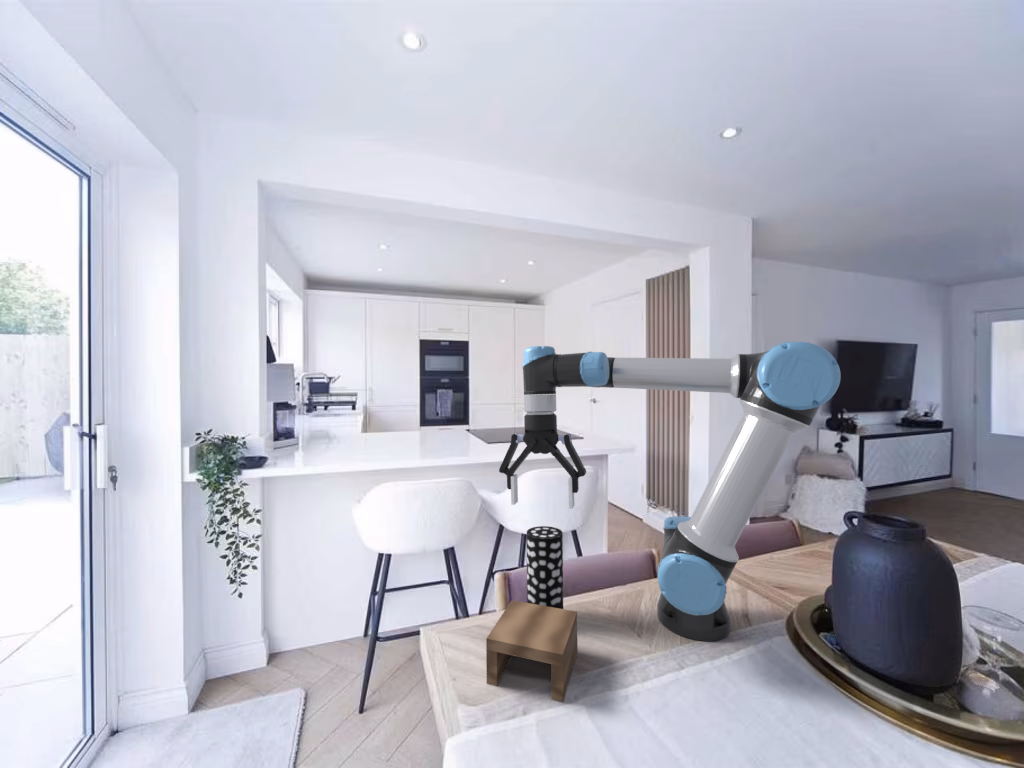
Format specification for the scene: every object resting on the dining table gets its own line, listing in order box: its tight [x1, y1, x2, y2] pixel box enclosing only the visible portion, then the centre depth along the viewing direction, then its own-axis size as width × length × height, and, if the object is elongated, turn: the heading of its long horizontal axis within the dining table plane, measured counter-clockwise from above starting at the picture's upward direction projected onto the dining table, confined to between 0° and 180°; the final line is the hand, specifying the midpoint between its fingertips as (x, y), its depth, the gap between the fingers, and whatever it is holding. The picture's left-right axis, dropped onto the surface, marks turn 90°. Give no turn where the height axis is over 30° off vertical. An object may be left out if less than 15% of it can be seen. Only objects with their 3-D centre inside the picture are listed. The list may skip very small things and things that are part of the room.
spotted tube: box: [526, 525, 564, 609], centre depth 93 cm, size 8×8×20 cm
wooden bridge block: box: [485, 599, 578, 703], centre depth 77 cm, size 14×14×8 cm
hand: (542, 505), depth 93 cm, fingers open, 13 cm apart
